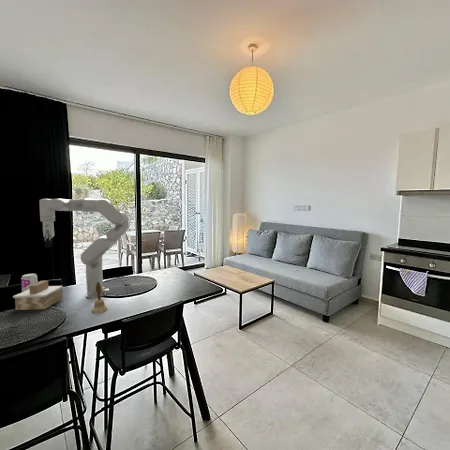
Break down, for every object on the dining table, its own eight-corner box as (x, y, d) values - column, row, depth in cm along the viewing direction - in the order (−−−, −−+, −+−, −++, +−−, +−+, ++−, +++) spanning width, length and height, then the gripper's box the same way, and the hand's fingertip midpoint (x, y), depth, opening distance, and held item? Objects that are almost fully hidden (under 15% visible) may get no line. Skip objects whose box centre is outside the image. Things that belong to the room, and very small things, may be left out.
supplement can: (29, 300, 158) (28, 276, 157) (19, 299, 159) (17, 276, 158) (41, 295, 165) (40, 273, 165) (31, 295, 167) (29, 273, 166)
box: (62, 300, 157) (61, 287, 156) (45, 310, 141) (44, 296, 140) (35, 301, 156) (35, 288, 155) (15, 311, 140) (14, 297, 139)
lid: (62, 287, 157) (62, 278, 156) (44, 296, 140) (44, 287, 139) (34, 288, 156) (34, 279, 155) (13, 298, 139) (12, 288, 138)
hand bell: (110, 310, 139) (108, 282, 138) (94, 315, 133) (92, 285, 132) (104, 306, 145) (103, 279, 144) (89, 310, 139) (87, 282, 138)
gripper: (53, 219, 150) (54, 247, 151) (56, 218, 165) (57, 244, 166) (38, 219, 146) (39, 248, 147) (42, 218, 161) (43, 245, 162)
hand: (48, 246), depth 157 cm, fingers open, 9 cm apart
